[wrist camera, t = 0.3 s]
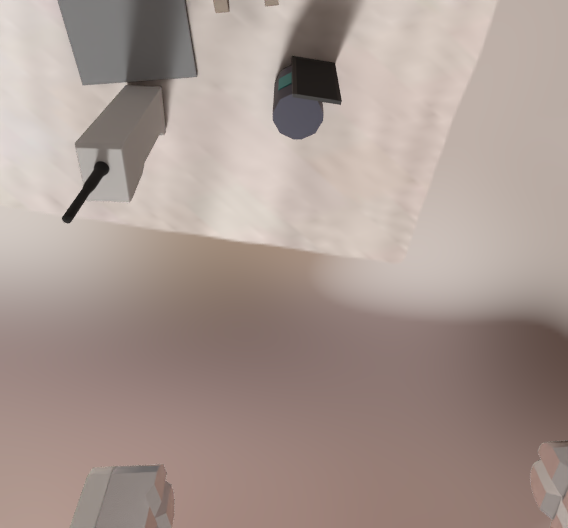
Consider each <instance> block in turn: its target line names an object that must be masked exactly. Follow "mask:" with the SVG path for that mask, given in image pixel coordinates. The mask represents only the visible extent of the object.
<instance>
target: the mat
mask: <svg viewBox="0 0 568 528" xmlns="http://www.w3.org/2000/svg"><path fill="white" fill-rule="evenodd" d="M58 4H59V7H60V10H61V14H62V17H63V20H64V24H65V27H66V30H67V34H68V37H69V40H70V44H71V47H72V51H73V54H74V57H75V61H76V64H77V67H78V71H79V74H80V77H81V81H82V84H83V85H94V84H107V83H121V82H134V81H148V80H162V79H175V78H189V77H197V72H196V66H195V59H194V53H193V47H192V41H191V35H190V29H189V23H188V16H187V10H186V4H185V0H58Z"/></svg>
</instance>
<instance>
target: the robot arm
mask: <svg viewBox="0 0 568 528" xmlns="http://www.w3.org/2000/svg"><path fill="white" fill-rule="evenodd" d="M538 454H539V456H540V458H541V459H540V460H538V461H537V462H535V463H534V464H533V466H532V469H531V472H530V479H531V488H532V492H533V495H534V498H535V500H536V503H537V505H538V507H539V509H540V510H541V511H542V512H543V513H545V514H546V515H547V516H548V517H550V518H551V519H552V520H551V524H550V528H568V441H554V442H544V443H543V444H541V445H540V447H539V450H538ZM166 475H167V472H166V469H165V467H164V465H163V464H157V465H139V466H111V467H97V468H92V470H91V471H90V473H89V474H88V476H87V478H86V481H85V484H84V487H83V490H82V493H81V496H80V499H79V502H78V505H77V508H76V510H75V513H74V516H73V519H72V522H71V525H70V528H172V525H173V518H174V504H175V503H174V500H175V499H174V492H173V489H172V485H171V484H170V483H168V482H167V481H166Z"/></svg>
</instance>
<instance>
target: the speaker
mask: <svg viewBox="0 0 568 528" xmlns="http://www.w3.org/2000/svg"><path fill="white" fill-rule="evenodd" d="M322 102H327V103H333V104H339V105H341V102H342V100H341V95H340V89H339V83H338V78H337V72H336V66H335V63H332V62H326V61H320V60H314V59H308V58H302V57H296V56H292V65H291V66H289V67H287V68H285V69H283V70H281V72H280V74H279V76H278V78H277V80H276V82H275V87H274V103H273V121H274V123H275V125H276V127H277V128H278V130H279V132H280V133H281V134H283V135H285V136H288V137H290V138H292V139H303V138H305V137H308V136H310V135H312V134H314V133H316V131H317V129H318V128H319V126H320V125H321V123H322V121H323V104H322Z"/></svg>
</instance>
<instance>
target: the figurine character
mask: <svg viewBox="0 0 568 528" xmlns="http://www.w3.org/2000/svg"><path fill="white" fill-rule="evenodd" d="M213 2H214V7H215V11H216V13H222V12H229V0H213ZM274 5H278V0H265V6H274Z"/></svg>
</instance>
